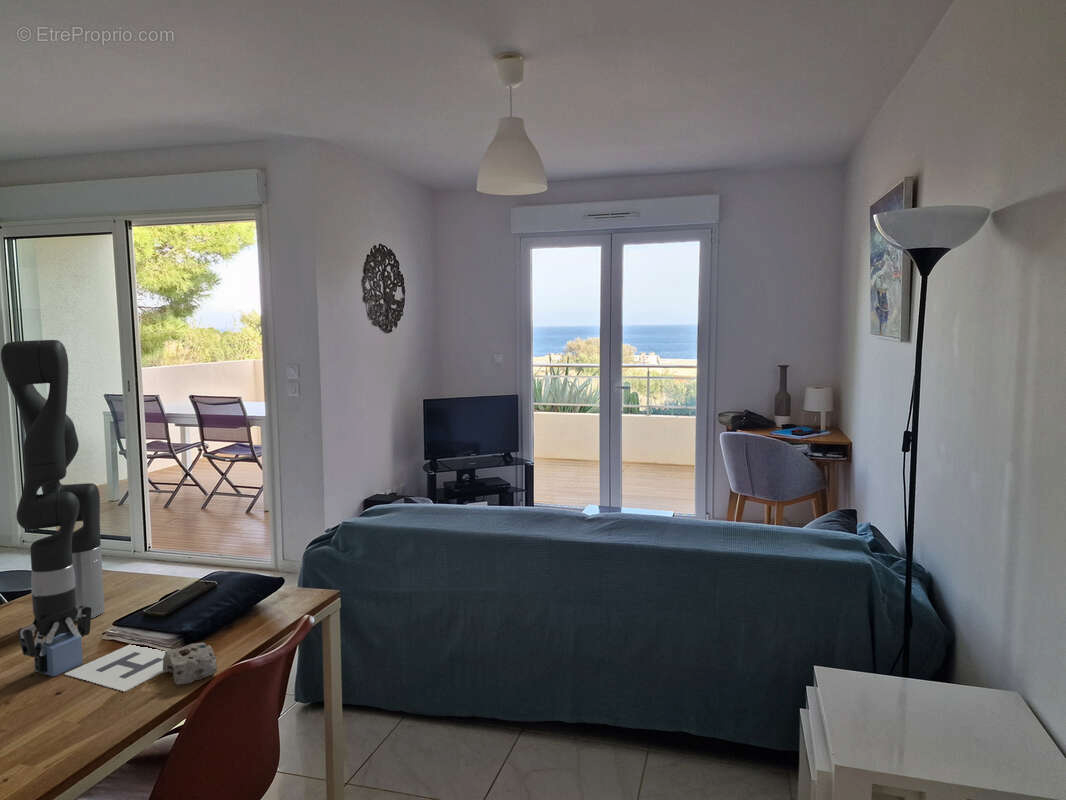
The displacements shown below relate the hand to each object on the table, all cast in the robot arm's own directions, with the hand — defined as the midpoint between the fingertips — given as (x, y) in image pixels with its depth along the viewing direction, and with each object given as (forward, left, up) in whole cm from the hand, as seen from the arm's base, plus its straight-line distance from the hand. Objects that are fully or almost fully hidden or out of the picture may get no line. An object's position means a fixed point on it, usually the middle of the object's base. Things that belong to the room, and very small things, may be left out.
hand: (58, 664), depth 145 cm
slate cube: (0, 0, -1) cm, 1 cm away
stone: (+27, +9, -1) cm, 29 cm away
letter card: (+13, +6, -1) cm, 14 cm away
